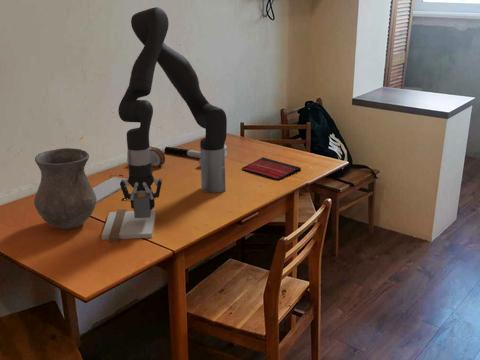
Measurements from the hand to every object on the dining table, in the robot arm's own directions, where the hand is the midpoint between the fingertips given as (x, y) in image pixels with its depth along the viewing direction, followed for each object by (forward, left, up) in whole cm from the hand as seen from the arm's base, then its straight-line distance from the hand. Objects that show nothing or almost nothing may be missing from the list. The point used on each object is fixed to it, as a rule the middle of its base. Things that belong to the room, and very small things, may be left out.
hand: (143, 208), depth 183 cm
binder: (-49, -50, -7) cm, 70 cm away
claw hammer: (-17, -73, -7) cm, 75 cm away
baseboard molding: (+21, -31, -7) cm, 38 cm away
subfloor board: (+5, 0, -6) cm, 8 cm away
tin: (+3, -62, -7) cm, 62 cm away
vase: (+26, -3, -6) cm, 27 cm away
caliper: (+5, -32, -7) cm, 33 cm away
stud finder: (0, 0, -1) cm, 1 cm away
